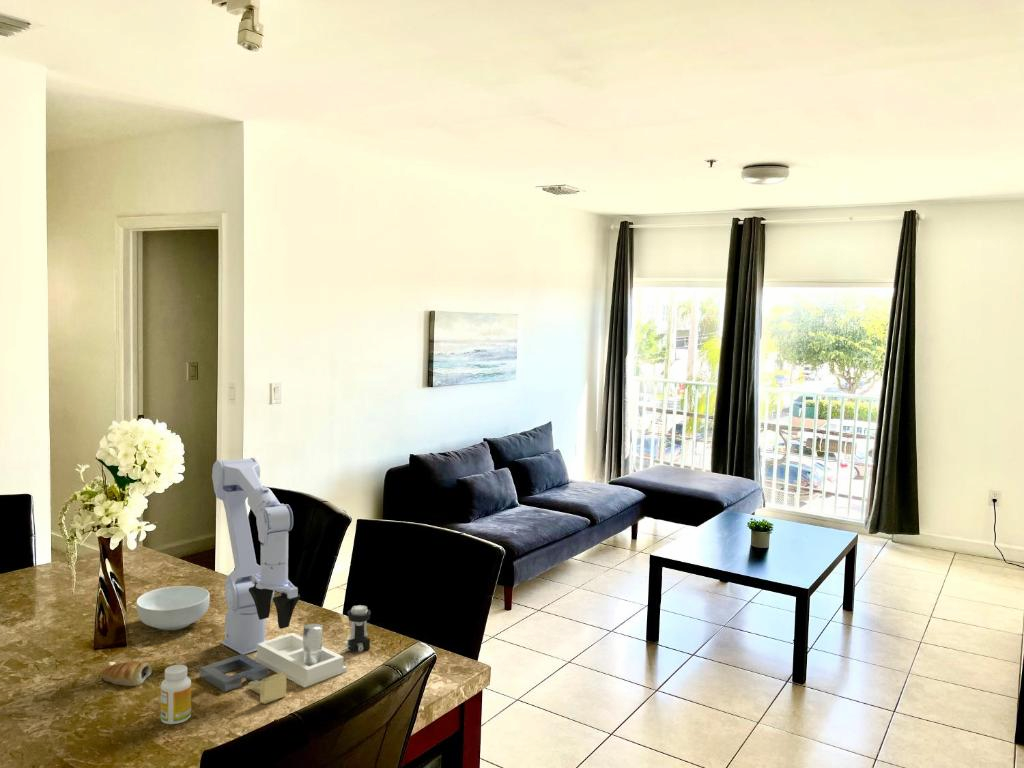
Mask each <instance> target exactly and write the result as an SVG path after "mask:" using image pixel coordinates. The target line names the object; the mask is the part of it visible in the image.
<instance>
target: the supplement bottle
mask: <svg viewBox="0 0 1024 768" xmlns="http://www.w3.org/2000/svg"><path fill="white" fill-rule="evenodd" d="M191 715H192V680H191V677H189V676H188V667H187V665H184V664H174V665H169V666H168V667H166V668H165V670H164V679H163V680H162V681H161V683H160V721H161V722H162V723H164V724H166V725H176V724H182V723H184V722H186V721H188V720H189V719H190V718H191Z"/></svg>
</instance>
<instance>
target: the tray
mask: <svg viewBox="0 0 1024 768" xmlns="http://www.w3.org/2000/svg"><path fill="white" fill-rule="evenodd" d="M267 640H268V639H267ZM302 654H303V636H301V635H299V634H297V633H295V632H291V633H290V632H289V633H287V634H284V635H281V636H278V637H274V638H272V639H269V640H268V641H265V642H262V643H259V644H257V651H256V654H255V655H253V660H255V661H257V662H259V663H260V664H262V665H264V666H266V667H267V668H268V670H271V671H273V672H275V673H276V674H278V673H281V672H283V673H285V674H286V679H288V680H290V681H291V680H292V681H291V682H293V681H294V682H293V683H295V684H297V685H299V686H301V687H302V688H306V687H309V686H312V685H315V684H317V683H321V682H322V681H326V680H329V679H331V678H333V677H335V676H338V675H341V674H343V673H346V672H347V671H348V668H347V666H345V665H344V662H345V661H344V659H345V657H344V656H343V655H341V654H339V653H337V652H335V651H332V650H330V649H328V648H326V647H324V646H322V652H321V662H320V663H317V664H315V665H312V666H307V665H305V664H303V663H302Z"/></svg>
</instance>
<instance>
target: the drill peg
mask: <svg viewBox="0 0 1024 768" xmlns="http://www.w3.org/2000/svg"><path fill="white" fill-rule="evenodd" d="M302 628H303V632H302V634H303V635H302V637H303V654H302V663H303V664H305V665H307V666H312V665H315V664H317V663H320V662H321V652H322V647H323V625H322V624H319V623H309V624H305V625H304V626H303V627H302Z"/></svg>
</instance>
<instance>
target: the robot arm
mask: <svg viewBox="0 0 1024 768" xmlns="http://www.w3.org/2000/svg"><path fill="white" fill-rule="evenodd" d="M260 477H261V467H260V463H259V460H257V459H256V458H255V457H250V458H240V459H228V460H219V459H218V460H215V462H214V463H213V466H212V473H211V479H212V484H213V485H212V486H213V491H214V493H215V498H216V499H218V500H220V501H222V503H223V507H224V511H225V518H226V522H227V523H226V524H227V527H228V528H227V529H228V534H229V541H230V546H231V547H230V548H231V550H232V558H233V563H234V569H233V570H232V571H231V572H230V573H229V574H228V576H227V577H226V578H225V581H224V587H225V588H224V589H225V590H224V592H225V593H224V598H225V603H226V607H228V609H227V611H226V613H225V617H224V618H225V620H224V622H225V623H224V625H225V626H224V627H225V628H224V640H221V644H223V645H224V646H226V647H228V648H230V649H232V650H234V651H235V652H237V653H239V655H240V654H244V655H247V654H250V653H254V652H257V644H259V643H262V642H265V641H268V639H266V623H267V622H266V619H269V618H270V614H271V613H270V612H271V604H272V602H273V604H274V607H275V609H276V614H277V626H278V628H279V629H280V630H281V629H285V628H289V626H290V624H291V619H292V615H293V612H294V611H295V610H294V609H295V608H296V605H297V603H298V602H299V600H300V599H301V594H299V593H298V592H299V589H298V588H299V587H297V586H295V585H294V584H293V583H292V582H291V581H290V579H289V532H290V531H292V529H293V527H294V514H293V510H292V508H291V506H290V505H289V504H287V503H286V504H284V503H280V501H279V500H278V498H277V497H276V495H275V494H274V493H273V491H272V490H271V489H270V488H268V486H263V483H262V482H261V480H260ZM246 499H247V500H246ZM246 501H247V504H246ZM247 505H248V506H249V508H250V510H251V511H252V513H253V515H254V516H255V518H256V521H255V522H256V527H257V528H256V529H257V533H258V541H259V542H260V565H259V564H258V563H257V559H256V553H255V547H254V542H253V537H252V531H251V526H250V519H249V515H248V509H247V508H248V507H247ZM275 592H277V593H278V594H280V595H277V596H275Z"/></svg>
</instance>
